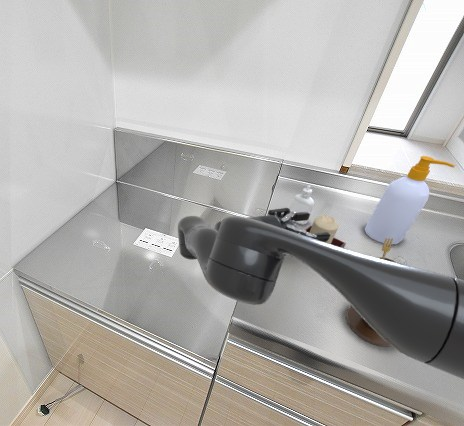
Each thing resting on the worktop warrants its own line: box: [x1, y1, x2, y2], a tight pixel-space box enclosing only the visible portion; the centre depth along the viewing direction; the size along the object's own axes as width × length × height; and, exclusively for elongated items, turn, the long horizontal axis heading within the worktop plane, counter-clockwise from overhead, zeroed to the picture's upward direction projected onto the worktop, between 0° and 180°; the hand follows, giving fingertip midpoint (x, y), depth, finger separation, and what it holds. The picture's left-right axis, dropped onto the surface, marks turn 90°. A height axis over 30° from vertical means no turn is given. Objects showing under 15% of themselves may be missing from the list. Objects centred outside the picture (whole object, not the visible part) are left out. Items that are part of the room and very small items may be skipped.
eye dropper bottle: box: [289, 185, 315, 226], centre depth 86 cm, size 4×6×12 cm
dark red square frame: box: [299, 225, 347, 249], centre depth 79 cm, size 10×10×2 cm
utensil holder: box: [379, 238, 408, 266], centre depth 65 cm, size 6×6×12 cm
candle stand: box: [345, 261, 405, 348], centre depth 56 cm, size 9×9×14 cm
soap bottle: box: [364, 155, 456, 245], centre depth 76 cm, size 9×9×24 cm
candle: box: [309, 214, 340, 244], centre depth 76 cm, size 6×6×10 cm
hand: (318, 225), depth 74 cm, fingers open, 8 cm apart
